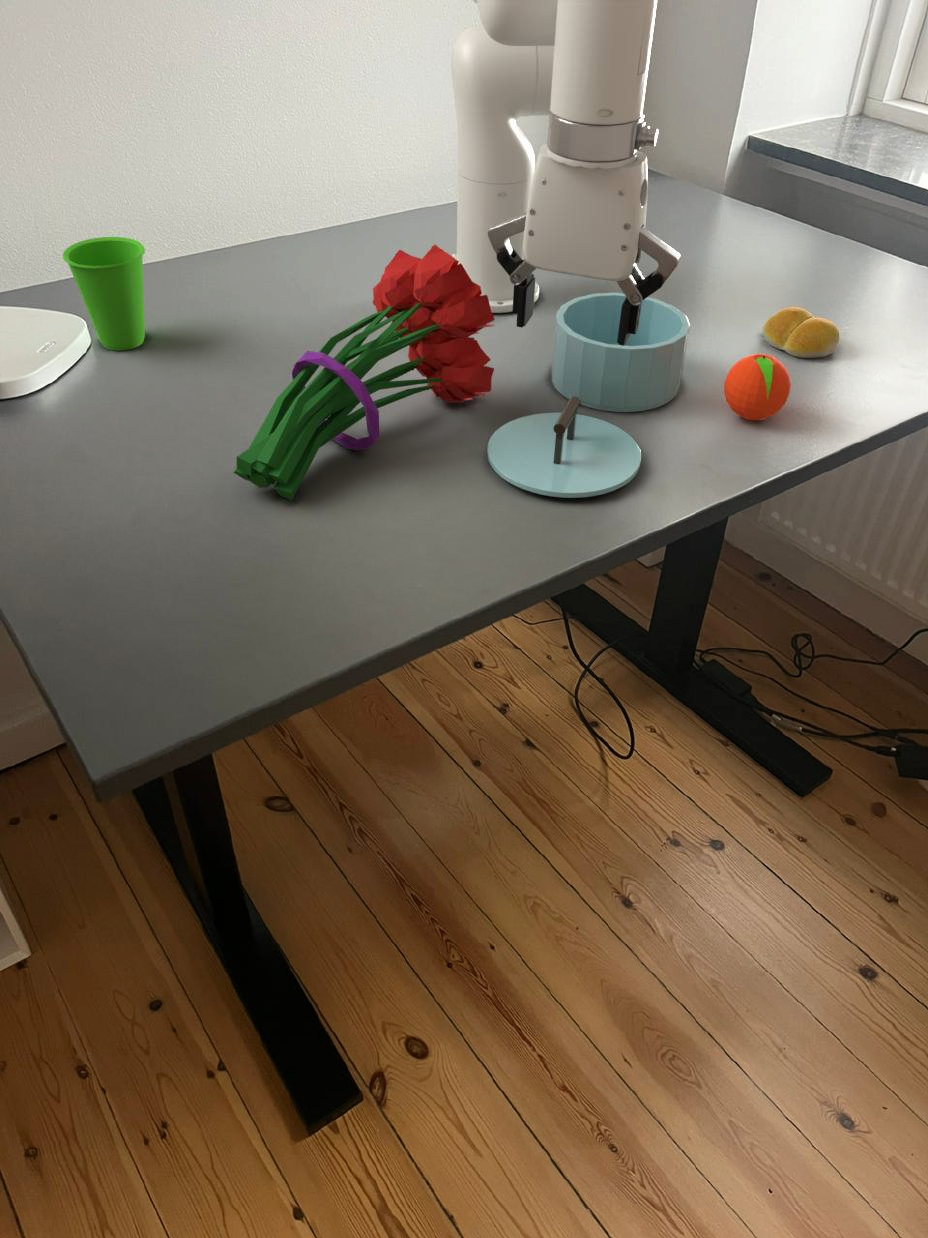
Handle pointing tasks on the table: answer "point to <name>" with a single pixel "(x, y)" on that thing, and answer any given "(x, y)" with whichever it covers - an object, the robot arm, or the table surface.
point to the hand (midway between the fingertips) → (573, 330)
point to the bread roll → (801, 333)
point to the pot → (618, 353)
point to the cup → (111, 288)
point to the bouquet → (438, 348)
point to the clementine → (757, 387)
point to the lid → (564, 454)
